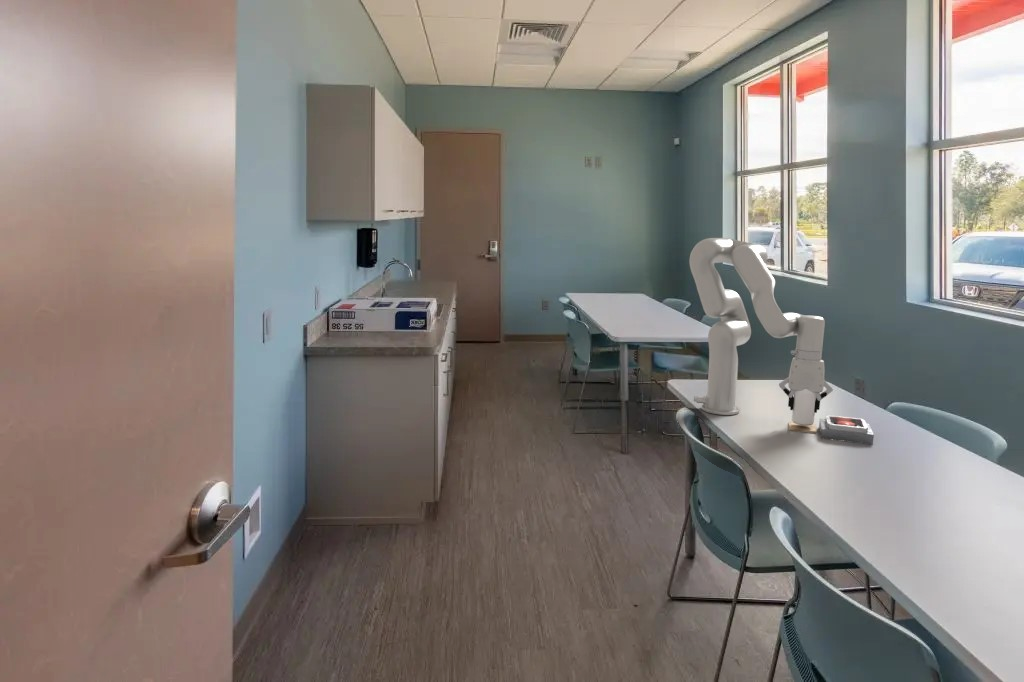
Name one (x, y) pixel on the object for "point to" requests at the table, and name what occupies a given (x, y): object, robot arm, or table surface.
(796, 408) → the can
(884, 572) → the table surface
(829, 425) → the white shallow box
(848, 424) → the button
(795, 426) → the coaster
